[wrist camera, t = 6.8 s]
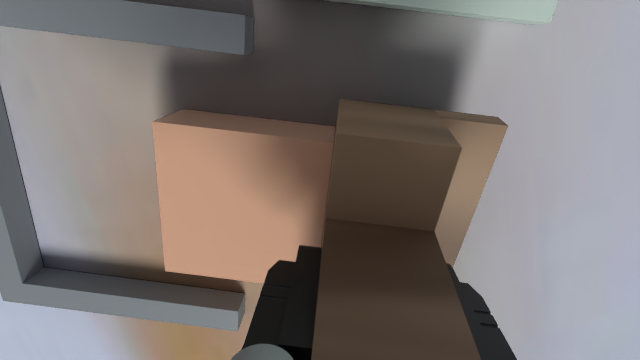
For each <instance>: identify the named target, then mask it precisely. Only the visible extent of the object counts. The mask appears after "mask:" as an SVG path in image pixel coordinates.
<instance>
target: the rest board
mask: <svg viewBox="0 0 640 360" xmlns="http://www.w3.org/2000/svg"><path fill="white" fill-rule="evenodd" d="M326 1H335V2H343V3H352V4H360V5H369V6H377V7H386V8H394V9H403V10H411V11H420V12H428V13H437V14H445V15H454V16H462V17H471V18H479V19H488V20H496V21H505V22H513V23H522V24H530V25H537V24H546V23H550V22H551V19H552V16H553V13H554V10H555V7H556V4H557V1H558V0H326Z"/></svg>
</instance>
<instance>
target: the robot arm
mask: <svg viewBox="0 0 640 360" xmlns="http://www.w3.org/2000/svg"><path fill="white" fill-rule="evenodd" d="M321 253H322V248H321V247H313V246H305V245H299V248H298V253H297V258H296V262H293V261H285V260H278V261H277V262H276V263H275V264H274V265H273V266H272V267H271V268H270V269H269V270H268V272H267V275H266V278H265V281H264V286H263V288H262V291H261V294H260V298H259V300H258V303H257V306H256V309H255V312H254V315H253V318H252V321H251V324H250V327H249V330H248V333H247V336H246V340H245V343H244V345H243V347H242V349H241V351H239V352H238V353H237V354H235V355H234V357H233V358H232V359H231V360H311V354H312V345H313V335H314V325H315V315H316V304H317V294H318V284H319V274H320V263H321ZM446 264H447V267H448V270H449V273H450V275H451V278H452V281H453V284H454V286H455V289H456V292H457V295H458V297H459V300H460V303H461V306H462V309H463V311H464V314H465V317H466V320H467V322H468V325H469V328H470V331H471V333H472V336H473V339H474V342H475V344H476V347H477V350H478V353H479V355H480V358H481V360H517V359H516V357H515V355H514V353H513V352H512V350H511V348H510V346H509V344H508V343H507V341H506V339H505V337H504V335H503V334H502V332H501V330H500V328H498V325H497V323H496V321H495V319H494V317H493V316H492V315H491V314H490V310H489V308H488V307H487V305H486V303H485V301H484V299H483V298H482V296H481V295H479V294H478V293H477V292H476V291H475V290H474V289H473V288H472V287H471V286H470V285H469V284H468V283H461V282H459V280H458V278H457V276H456V274H455V272H454V270H453V268H452V266H451V265H450V264H449V263H446Z"/></svg>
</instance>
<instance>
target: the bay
mask: <svg viewBox="0 0 640 360" xmlns="http://www.w3.org/2000/svg"><path fill="white" fill-rule="evenodd" d="M0 26H7V27H15V28H23V29H32V30H40V31H48V32H57V33H65V34H73V35H82V36H90V37H98V38H107V39H115V40H123V41H132V42H140V43H148V44H156V45H165V46H173V47H181V48H190V49H198V50H206V51H215V52H223V53H231V54H240V55H250V54H253V40H254V18H253V17H250V16H247V15H241V14H232V13H224V12H216V11H207V10H199V9H190V8H182V7H174V6H165V5H157V4H148V3H140V2H131V1H123V0H0ZM0 292H1V295H2V299H3V301H9V302H17V303H24V304H32V305H40V306H47V307H55V308H63V309H70V310H78V311H86V312H93V313H101V314H108V315H116V316H124V317H131V318H139V319H147V320H154V321H162V322H170V323H177V324H185V325H193V326H200V327H208V328H215V329H223V330H231V331H238V329H239V327H240V324H241V321H242V318H243V315H244V313H245V293H237V292H230V291H222V290H214V289H206V288H199V287H191V286H183V285H176V284H168V283H160V282H152V281H145V280H137V279H129V278H121V277H114V276H106V275H98V274H91V273H83V272H75V271H67V270H60V269H52V268H44V266H43V262H42V258H41V254H40V249H39V245H38V241H37V237H36V233H35V229H34V225H33V221H32V217H31V213H30V208H29V204H28V200H27V196H26V192H25V188H24V184H23V180H22V176H21V171H20V167H19V163H18V159H17V155H16V151H15V147H14V143H13V139H12V134H11V130H10V126H9V122H8V118H7V114H6V110H5V106H4V102H3V97H2V93H1V89H0Z"/></svg>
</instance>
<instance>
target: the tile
mask: <svg viewBox="0 0 640 360" xmlns="http://www.w3.org/2000/svg"><path fill="white" fill-rule="evenodd" d="M152 125H153V136H154V148H155V160H156V171H157V183H158V194H159V206H160V217H161V229H162V240H163V252H164V263H165V271H168V272H176V273H184V274H192V275H200V276H208V277H216V278H224V279H232V280H240V281H248V282H256V283H264V281H265V278H266V275H267V272H268V270H269V269H270V268H271V267H272V266H273V265H274V264H275V263H276V262H277V261H278V260H285V261H293V262H296V258H297V253H298V248H299V245H305V246H313V247H321V242H322V234H323V226H324V217H325V209H326V201H327V193H328V185H329V176H330V168H331V160H332V152H333V144H334V133H335V127H334V126H325V125H317V124H308V123H299V122H291V121H282V120H273V119H265V118H256V117H247V116H238V115H230V114H221V113H212V112H204V111H195V110H186V109H182V110H180V111H177V112H175V113H172V114H170V115H167V116H165V117H162V118H160V119H157V120H155V121H152Z"/></svg>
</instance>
